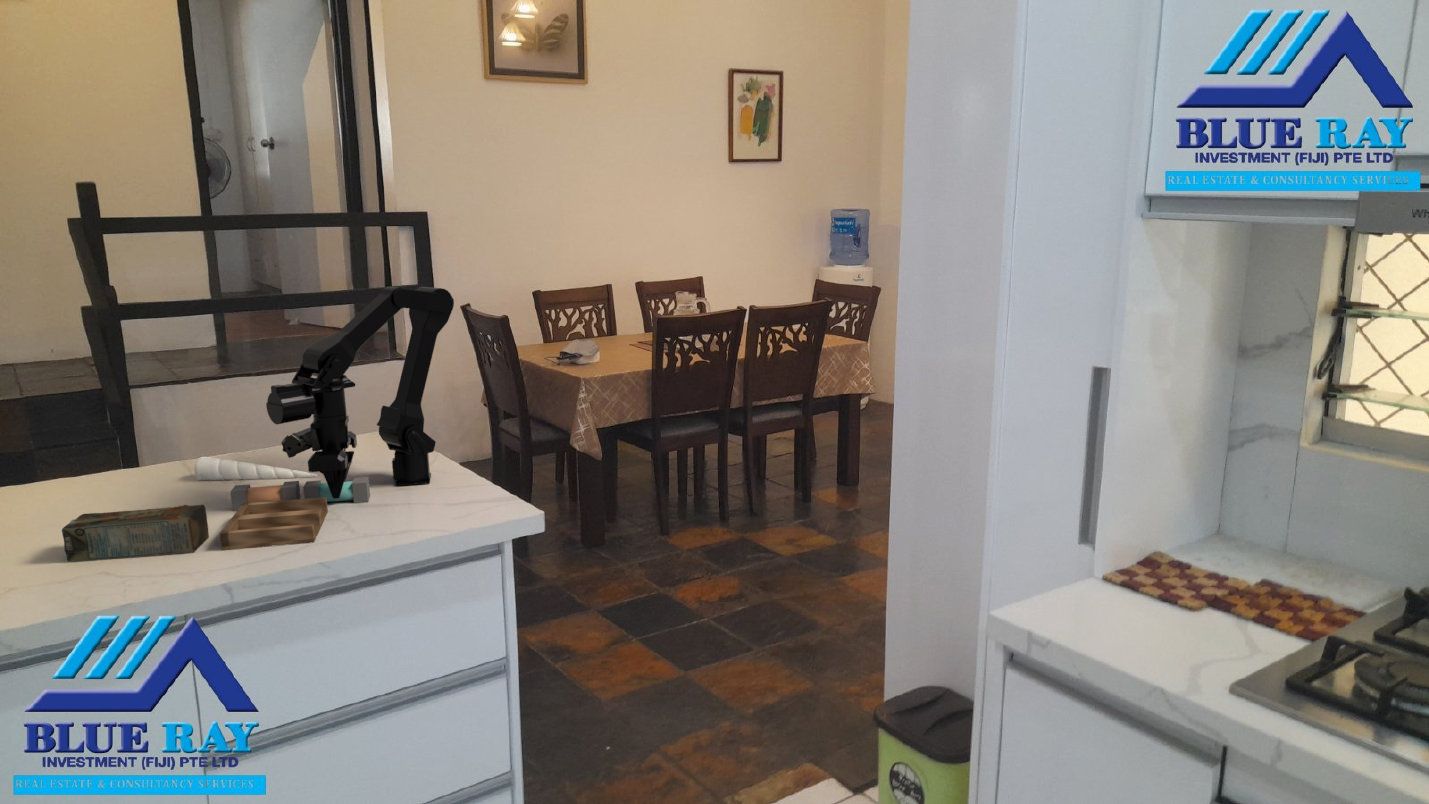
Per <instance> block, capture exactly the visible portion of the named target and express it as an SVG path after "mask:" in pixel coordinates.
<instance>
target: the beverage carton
mask: <svg viewBox="0 0 1429 804" xmlns="http://www.w3.org/2000/svg"><path fill="white" fill-rule="evenodd" d="M206 509H207V508H206V505H205V504H196V505H195V504H194V505H188V504H183V505H178V506H170V507H160V508H146V509H135V510H121V511H111V512H108V511H107V512H91V513H82V514H80V515H79V516H78V517H76V518H75V519H72V520H70V522H69V523H68V524H66V525H65V526H63V527H62V528H61V533H62V538H63V546H64V553H65V557H66V558H65V559H66V561H67V563H75V562H87V561H103V560H113V559H118V560H119V559H128V558H139V557H140V558H141V557H142V558H143V557H149V556H150V557H152V556H162V555H174V554H175V555H178V554H177V553H179V554H187V553H188V554H189V553H190V552H191V553H195V552H196V551H197V550H198V549H199V548H200V547H201V546H202V545H203V544H204V543H205V542H206V541H207V540H208V539H209V537H210V534H209V525H208V516H207V510H206ZM191 553H190V554H191Z"/></svg>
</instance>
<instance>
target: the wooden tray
mask: <svg viewBox="0 0 1429 804" xmlns="http://www.w3.org/2000/svg"><path fill="white" fill-rule="evenodd" d="M328 507H329V506H328V502H327V497H322V498H309V499H304V498H301V499H296V500H283V501H269V502H256V503H243V504H242V505H241V506H240V508H239V509H238V510H237V511H235V512H234V514H233V516H232V517H231V518H230V520H229V521H228V523H226V525H225V526H224V528H223V529H222V531H221V532H220V533H219V539H220V547H221V551H228V550H229V551H230V550H240V549H253V548H262V547H263V546H264V547H265V546H266V547H273V546H272V545H278V546H285V545H284V544H289V545H298V544H299V545H300V543H301V544H308V543H309V544H310V542H312V543H315V541H316V539H317V537H318V534H319V533H320V530H321V528H322V526H323V523H324V521H325V520H326V517H327V515H328V512H329V511H328ZM316 536H317V537H316Z"/></svg>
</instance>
